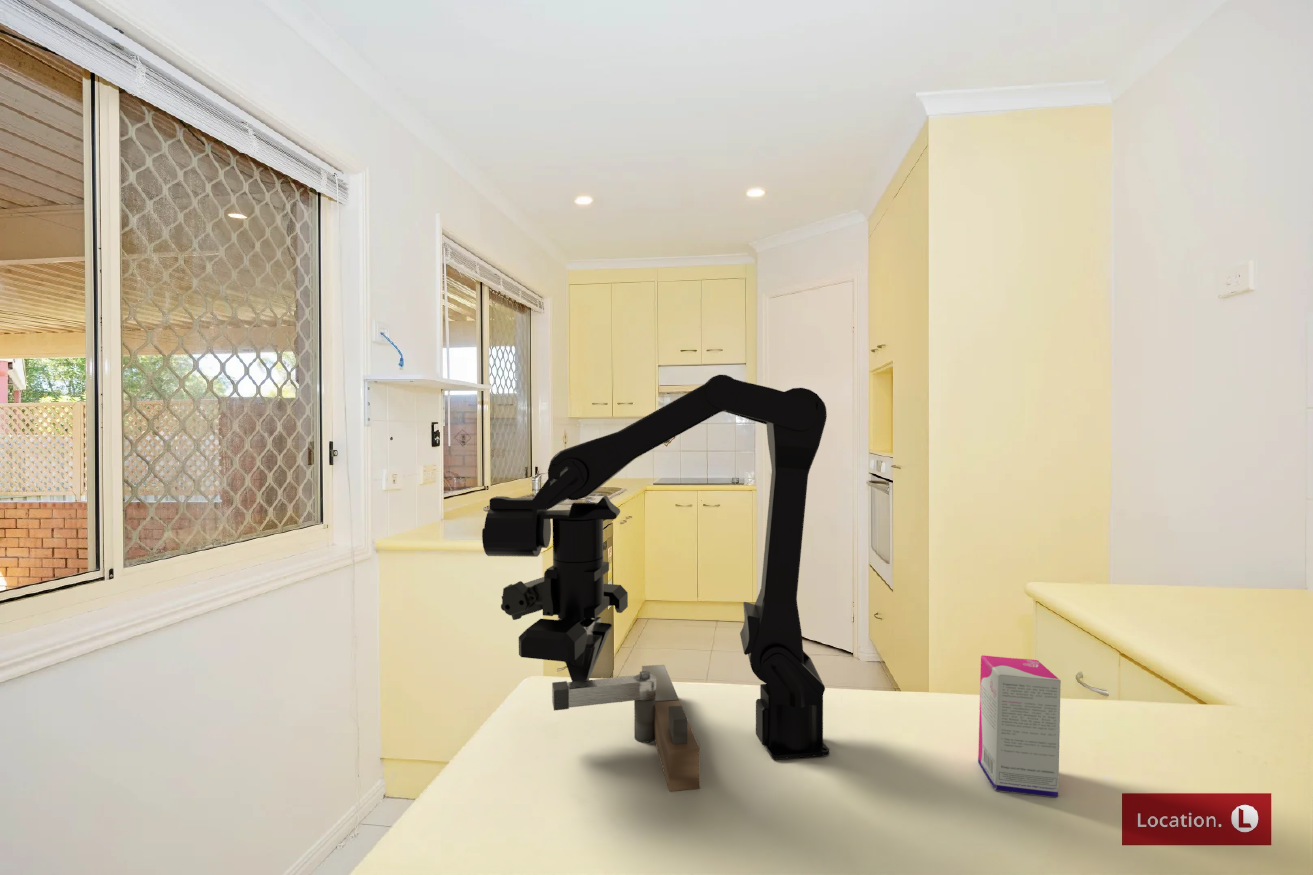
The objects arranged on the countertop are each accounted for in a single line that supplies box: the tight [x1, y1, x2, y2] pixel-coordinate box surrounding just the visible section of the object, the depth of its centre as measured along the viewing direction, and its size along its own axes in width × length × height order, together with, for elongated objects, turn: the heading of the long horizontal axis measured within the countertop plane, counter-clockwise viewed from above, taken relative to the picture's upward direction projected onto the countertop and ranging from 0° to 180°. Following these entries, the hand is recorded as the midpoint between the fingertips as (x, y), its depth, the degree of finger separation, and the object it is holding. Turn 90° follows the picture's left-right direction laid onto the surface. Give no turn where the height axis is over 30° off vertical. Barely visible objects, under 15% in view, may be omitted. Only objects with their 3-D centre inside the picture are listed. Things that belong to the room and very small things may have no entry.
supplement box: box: [977, 654, 1062, 798], centre depth 63 cm, size 6×6×12 cm
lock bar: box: [551, 670, 656, 712], centre depth 71 cm, size 12×3×3 cm, turn 104°
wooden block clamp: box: [633, 664, 700, 792], centre depth 72 cm, size 5×22×6 cm, turn 8°
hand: (579, 690), depth 72 cm, fingers closed
